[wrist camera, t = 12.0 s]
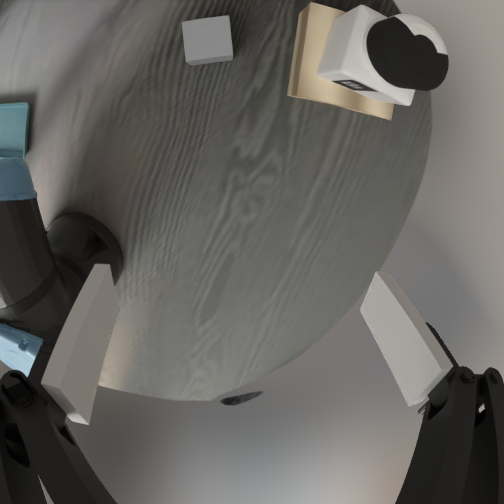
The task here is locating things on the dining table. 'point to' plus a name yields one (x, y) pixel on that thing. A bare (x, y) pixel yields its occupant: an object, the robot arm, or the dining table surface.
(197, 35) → the slate cube
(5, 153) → the teal serving tray
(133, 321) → the dining table surface
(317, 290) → the dining table surface
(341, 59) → the container
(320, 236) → the dining table surface
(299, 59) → the maple block
